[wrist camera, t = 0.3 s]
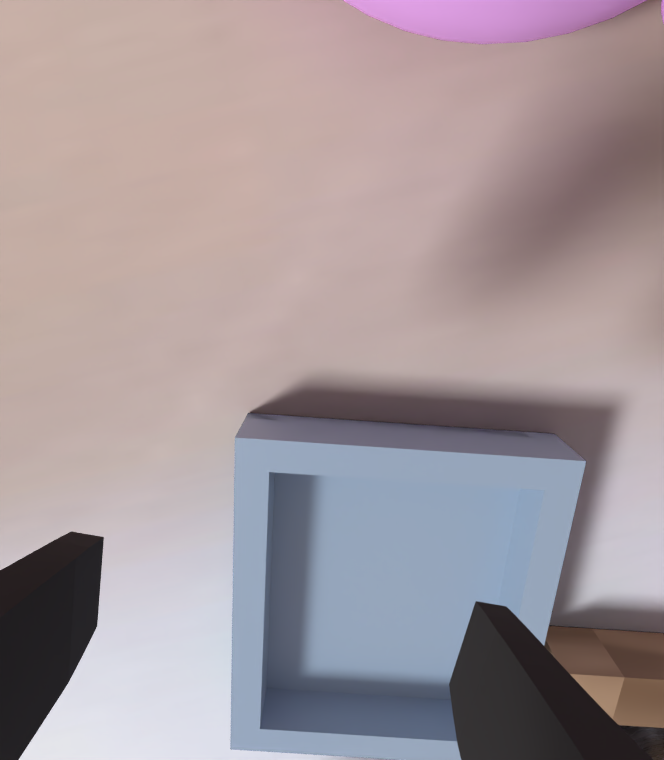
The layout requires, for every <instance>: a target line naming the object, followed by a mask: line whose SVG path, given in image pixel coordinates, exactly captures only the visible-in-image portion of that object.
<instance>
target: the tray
mask: <svg viewBox="0 0 664 760" xmlns="http://www.w3.org/2000/svg"><path fill="white" fill-rule="evenodd" d="M585 464H586V461H585V460H584V459H583V458H582V457H581V456H580V455H578V454H577V453H576V452H575V451H574V450H573V449H572V448H570V447H569V446H568V445H567V444H566V443H565V442H563V441H562V440H561V439H560V438H559V437H558V436H557V435H555V434H551V433H536V432H521V431H506V430H491V429H477V428H462V427H447V426H432V425H417V424H403V423H388V422H373V421H358V420H344V419H329V418H314V417H299V416H284V415H270V414H255V413H248V414H247V416H246V418H245V420H244V422H243V424H242V426H241V427H240V429H239V431H238V433H237V435H236V437H235V473H234V542H233V611H232V680H231V748H230V749H234V750H250V751H266V752H282V753H297V754H313V755H329V756H345V757H361V758H377V759H393V760H461V757H460V752H459V748H458V744H457V738H456V731H455V725H454V718H453V711H452V703H451V696H450V688H449V683H450V679H451V676H452V673H453V670H454V667H455V664H456V661H457V658H458V655H459V651H460V648H461V645H462V642H463V639H464V636H465V633H466V630H467V627H468V623H469V620H470V617H471V614H472V611H473V608H474V605H475V602H476V601H478V602H484V603H490V604H496V605H501V606H506V607H507V608H509V609H510V610H511V611H512V612H513V613H514V614H515V615H516V616H517V618H518V619H519V620H520V621H521V622H522V623H523V624H524V625H525V626H526V627H527V628H528V629H529V630H530V631H531V632H532V633H533V635H534V636H535V637H536V638H537V639H538V640H539V641H540V642H541V643H542V644H543V645H545V640H546V636H547V631H548V627H549V623H550V618H551V614H552V609H553V605H554V601H555V596H556V592H557V587H558V583H559V579H560V574H561V570H562V565H563V561H564V557H565V552H566V548H567V543H568V539H569V535H570V530H571V526H572V521H573V517H574V513H575V508H576V504H577V500H578V495H579V491H580V486H581V482H582V478H583V473H584V469H585Z"/></svg>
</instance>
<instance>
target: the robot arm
mask: <svg viewBox="0 0 664 760" xmlns="http://www.w3.org/2000/svg"><path fill="white" fill-rule="evenodd" d="M103 540H104V537H100V536H94V535H88V534H82V533H76V532H70V533H68V534H66V535H64V536H62V537H60V538H58V539H56V540H54V541H53V542H51V543H49V544H47V545H45V546H43V547H42V548H40V549H38V550H36V551H34V552H33V553H31V554H29V555H27V556H26V557H24V558H22V559H20V560H18V561H17V562H15V563H13V564H11V565H9V566H8V567H6V568H4V569H2V570H0V760H18V759H19V758H20V756H21V755H22V753H23V752H24V750H25V749H26V747H27V746H28V744H29V743H30V741H31V740H32V738H33V737H34V735H35V734H36V732H37V730H38V729H39V727H40V726H41V724H42V723H43V721H44V720H45V718H46V717H47V715H48V713H49V712H50V710H51V709H52V707H53V706H54V704H55V703H56V701H57V700H58V698H59V696H60V695H61V693H62V692H63V690H64V689H65V687H66V685H67V684H68V682H69V680H70V678H71V677H72V675H73V673H74V671H75V669H76V667H77V665H78V663H79V661H80V659H81V657H82V656H83V653H84V651H85V649H86V647H87V645H88V643H89V641H90V639H91V637H92V635H93V633H94V631H95V629H96V627H97V620H98V606H99V593H100V580H101V566H102V553H103ZM449 688H450V696H451V703H452V711H453V718H454V725H455V731H456V738H457V744H458V748H459V752H460V757H461V760H653V759H652V758H651V757H650V756H649V755H648V754H647V753H646V752H645V751H644V750H643V749H642V748H641V747H640V746H639V745H638V744H637V743H636V742H635V741H634V740H633V739H632V738H631V737H630V736H629V735H628V734H627V733H626V732H625V731H624V730H623V729H622V728H621V727H620V726H619V725H618V724H617V723H616V722H615V721H614V720H613V719H612V718H611V717H610V716H609V715H608V714H607V713H606V712H605V711H604V710H603V709H602V708H601V707H600V706H599V704H598V703H597V702H596V701H595V700H594V699H593V698H592V697H591V696H590V695H589V694H588V693H587V692H586V691H585V690H584V689H583V688H582V687H581V685H580V684H579V683H578V682H577V681H576V680H575V679H574V678H573V677H572V676H571V675H570V674H569V673H568V672H567V670H566V669H565V668H564V667H563V666H562V665H561V664H560V663H559V662H558V661H557V660H556V658H555V657H554V656H553V655H552V654H551V653H550V652H549V651H548V650H547V649H546V648H545V647H544V645H543V644H542V643H541V642H540V641H539V640H538V639H537V638H536V637H535V636H534V635H533V633H532V632H531V631H530V630H529V629H528V628H527V627H526V626H525V625H524V624H523V623H522V622H521V621H520V620H519V619H518V618H517V616H516V615H515V614H514V613H513V612H512V611H511V610H510V609H509V608H507V607H506V606H501V605H496V604H490V603H484V602H478V601H476V602H475V605H474V608H473V611H472V614H471V617H470V620H469V623H468V627H467V630H466V633H465V636H464V639H463V642H462V645H461V648H460V651H459V655H458V658H457V661H456V664H455V667H454V670H453V673H452V676H451V679H450V683H449Z"/></svg>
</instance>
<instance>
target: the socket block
mask: <svg viewBox="0 0 664 760" xmlns="http://www.w3.org/2000/svg"><path fill="white" fill-rule="evenodd" d="M544 647H545V648H546V649H547V650H548V651H549V652H550V653H551V654H552V655H553V656H554V657H555V658H556V660H557V661H558V662H559V663H560V664H561V665H562V666H563V667H564V668H565V669H566V670H567V672H568V673H569V674H570V675H571V676H572V677H573V678H574V679H575V680H576V681H577V682H578V683H579V684H580V685H581V687H582V688H583V689H584V690H585V691H586V692H587V693H588V694H589V695H590V696H591V697H592V698H593V699H594V700H595V701H596V702H597V703H598V704H599V706H600V707H601V708H602V709H603V710H604V711H605V712H606V713H607V714H608V715H609V716H610V717H611V718H612V719H613V720H614V721H615V722H616V723H617V724H618V725H625V726H640V727H656V728H664V633H651V632H635V631H620V630H605V629H589V628H574V627H558V626H549V627H548V631H547V636H546V640H545V645H544Z"/></svg>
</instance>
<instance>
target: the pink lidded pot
mask: <svg viewBox="0 0 664 760" xmlns="http://www.w3.org/2000/svg"><path fill="white" fill-rule="evenodd" d="M343 1H345V2H347V3H348V4H350V5H352V6H353V7H355V8H357V9H358V10H360V11H361V12H363V13H365V14H366V15H368V16H370V17H373V18H375V19H378V20H380V21H382V22H385V23H387V24H390V25H392V26H394V27H397V28H399V29H401V30H404V31H407V32H411V33H415V34H419V35H423V36H427V37H431V38H435V39H439V40H445V41H455V42H465V43H476V44H492V43H511V42H528V41H533V40H538V39H543V38H548V37H553V36H558V35H563V34H568V33H571V32H574V31H577V30H580V29H582V28H585V27H588V26H591V25H594V24H597V23H599V22H602V21H605V20H608V19H611V18H613V17H615V16H617V15H619V14H621V13H623V12H625V11H627V10H629V9H631V8H633V7H635V6H637V5H639V4H641V3H643V2H645V1H647V0H343ZM661 14H662V20H663V23H664V0H662V1H661Z"/></svg>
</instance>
